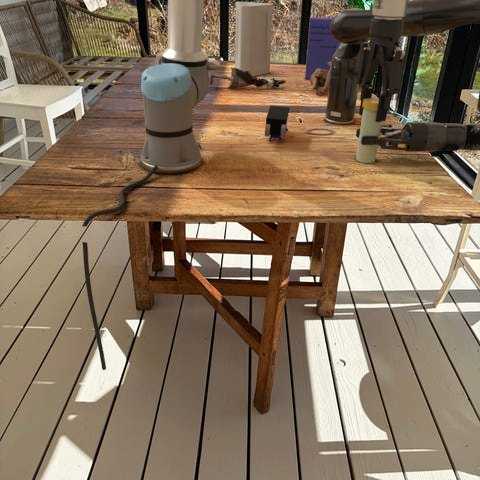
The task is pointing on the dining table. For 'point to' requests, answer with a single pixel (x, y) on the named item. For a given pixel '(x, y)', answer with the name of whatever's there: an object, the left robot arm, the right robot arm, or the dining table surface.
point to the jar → (368, 129)
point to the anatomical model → (321, 80)
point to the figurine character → (276, 122)
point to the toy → (159, 61)
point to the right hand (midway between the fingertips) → (359, 136)
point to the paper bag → (253, 37)
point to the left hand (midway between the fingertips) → (372, 117)
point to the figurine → (246, 79)
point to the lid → (371, 104)
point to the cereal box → (319, 45)
